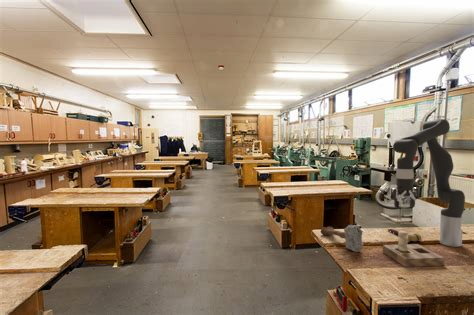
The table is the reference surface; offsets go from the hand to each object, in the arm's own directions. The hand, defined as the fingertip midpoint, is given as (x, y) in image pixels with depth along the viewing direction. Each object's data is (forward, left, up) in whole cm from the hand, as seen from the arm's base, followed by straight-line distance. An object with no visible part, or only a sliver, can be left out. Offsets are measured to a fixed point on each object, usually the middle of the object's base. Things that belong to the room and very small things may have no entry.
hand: (404, 207), depth 127 cm
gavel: (-18, -25, -26) cm, 41 cm away
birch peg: (+4, +5, -26) cm, 27 cm away
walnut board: (-1, +5, -26) cm, 26 cm away
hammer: (+25, -17, -26) cm, 40 cm away
